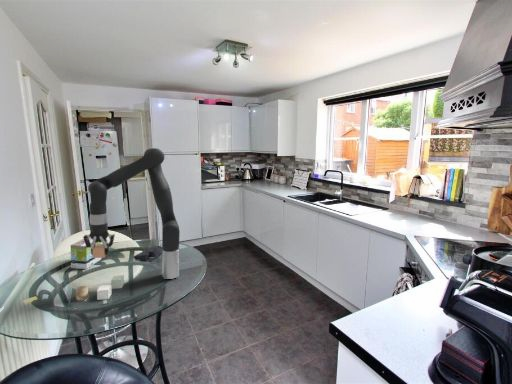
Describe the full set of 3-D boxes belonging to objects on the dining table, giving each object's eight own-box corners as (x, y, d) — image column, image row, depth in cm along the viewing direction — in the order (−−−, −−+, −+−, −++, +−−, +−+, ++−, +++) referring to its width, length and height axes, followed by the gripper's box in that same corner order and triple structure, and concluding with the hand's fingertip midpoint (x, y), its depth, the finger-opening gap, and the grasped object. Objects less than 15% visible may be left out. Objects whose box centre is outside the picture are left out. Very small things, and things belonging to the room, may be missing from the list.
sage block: (124, 283, 148) (123, 275, 147) (121, 288, 143) (121, 279, 142) (114, 284, 147) (114, 275, 146) (111, 288, 142) (111, 280, 141)
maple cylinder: (90, 294, 135) (89, 285, 134) (86, 300, 130) (85, 291, 129) (78, 295, 134) (78, 286, 133) (74, 301, 129) (73, 291, 128)
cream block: (111, 293, 137) (111, 284, 136) (108, 299, 132) (108, 289, 132) (100, 294, 136) (100, 285, 135) (97, 299, 131) (97, 290, 131)
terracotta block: (107, 253, 138) (106, 244, 137) (104, 257, 133) (103, 248, 132) (96, 253, 137) (96, 244, 136) (92, 257, 132) (92, 248, 131)
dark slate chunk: (169, 251, 196) (169, 244, 195) (150, 263, 175) (150, 256, 174) (150, 248, 199) (150, 242, 199) (130, 259, 178) (130, 252, 177)
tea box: (87, 269, 160) (86, 246, 158) (70, 268, 161) (69, 245, 158) (102, 259, 175) (101, 237, 173) (86, 258, 175) (85, 236, 173)
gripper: (116, 219, 137) (117, 251, 140) (85, 220, 134) (87, 252, 137) (112, 224, 130) (113, 257, 133) (79, 224, 127) (81, 258, 130)
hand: (100, 254), depth 135 cm, fingers closed on terracotta block, 5 cm apart
